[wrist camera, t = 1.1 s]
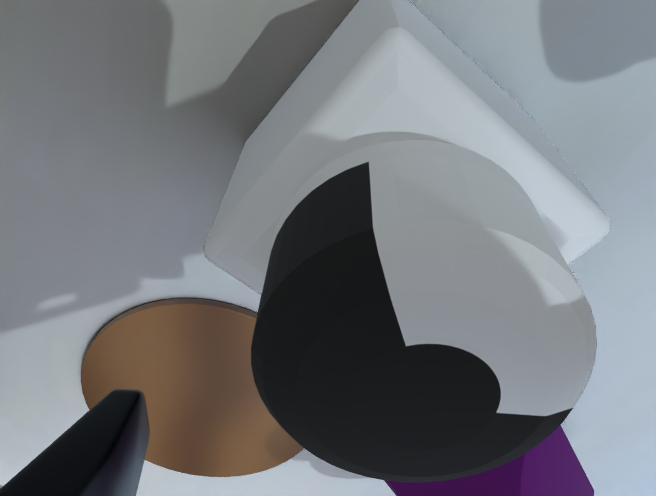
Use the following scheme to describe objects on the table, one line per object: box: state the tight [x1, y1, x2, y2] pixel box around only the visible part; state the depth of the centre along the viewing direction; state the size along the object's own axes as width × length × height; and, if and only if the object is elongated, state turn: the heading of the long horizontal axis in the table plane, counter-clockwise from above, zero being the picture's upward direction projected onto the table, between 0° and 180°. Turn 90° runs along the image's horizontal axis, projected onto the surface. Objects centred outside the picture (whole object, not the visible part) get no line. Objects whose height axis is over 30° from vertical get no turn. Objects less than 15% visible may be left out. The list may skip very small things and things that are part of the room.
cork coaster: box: [81, 298, 304, 477], centre depth 27 cm, size 11×11×1 cm
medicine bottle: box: [204, 0, 611, 482], centre depth 15 cm, size 7×7×12 cm
